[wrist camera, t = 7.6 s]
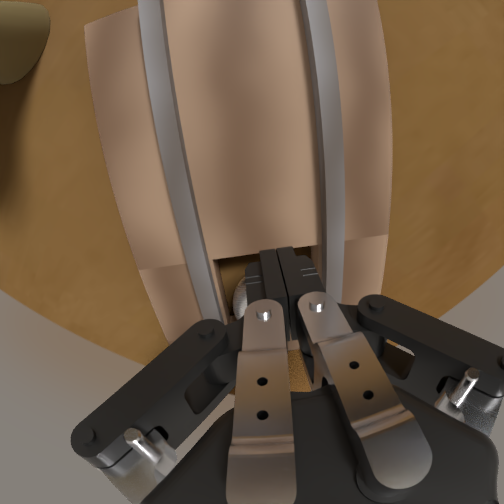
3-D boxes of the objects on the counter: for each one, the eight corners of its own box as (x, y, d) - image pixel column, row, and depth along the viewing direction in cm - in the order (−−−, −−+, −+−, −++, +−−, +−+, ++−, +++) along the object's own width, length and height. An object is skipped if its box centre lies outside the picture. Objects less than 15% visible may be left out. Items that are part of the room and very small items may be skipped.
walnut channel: (360, 0, 11) (383, -15, 8) (364, 317, 22) (377, 342, 19) (99, 31, 11) (75, 22, 8) (180, 344, 22) (176, 373, 19)
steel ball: (301, 318, 20) (290, 257, 20) (318, 338, 16) (305, 263, 15) (240, 331, 20) (226, 271, 20) (242, 356, 16) (224, 281, 15)
